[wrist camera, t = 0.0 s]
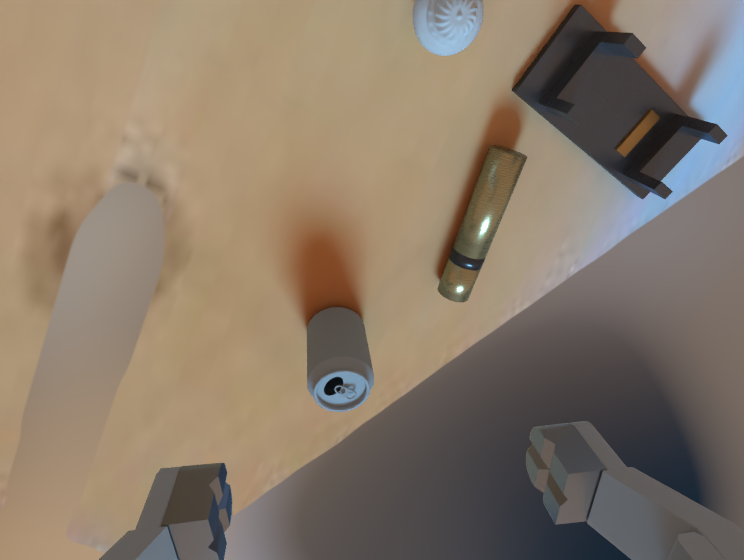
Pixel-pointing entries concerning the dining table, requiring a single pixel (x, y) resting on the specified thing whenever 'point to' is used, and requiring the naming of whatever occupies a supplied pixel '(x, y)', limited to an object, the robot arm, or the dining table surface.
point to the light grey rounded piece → (447, 24)
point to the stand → (611, 104)
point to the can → (338, 360)
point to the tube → (481, 221)
